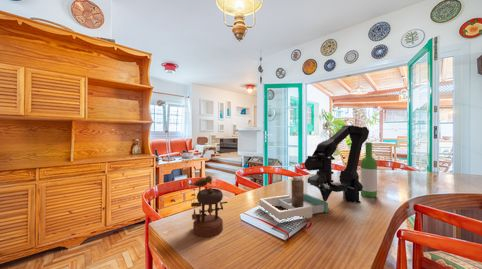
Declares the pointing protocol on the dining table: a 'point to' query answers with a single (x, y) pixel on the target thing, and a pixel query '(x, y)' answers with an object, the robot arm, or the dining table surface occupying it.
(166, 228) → the dining table surface
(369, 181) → the wine bottle
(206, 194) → the music box
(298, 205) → the pepper mill
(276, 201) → the tray sleeve
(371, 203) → the dining table surface
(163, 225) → the dining table surface
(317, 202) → the grey tray
